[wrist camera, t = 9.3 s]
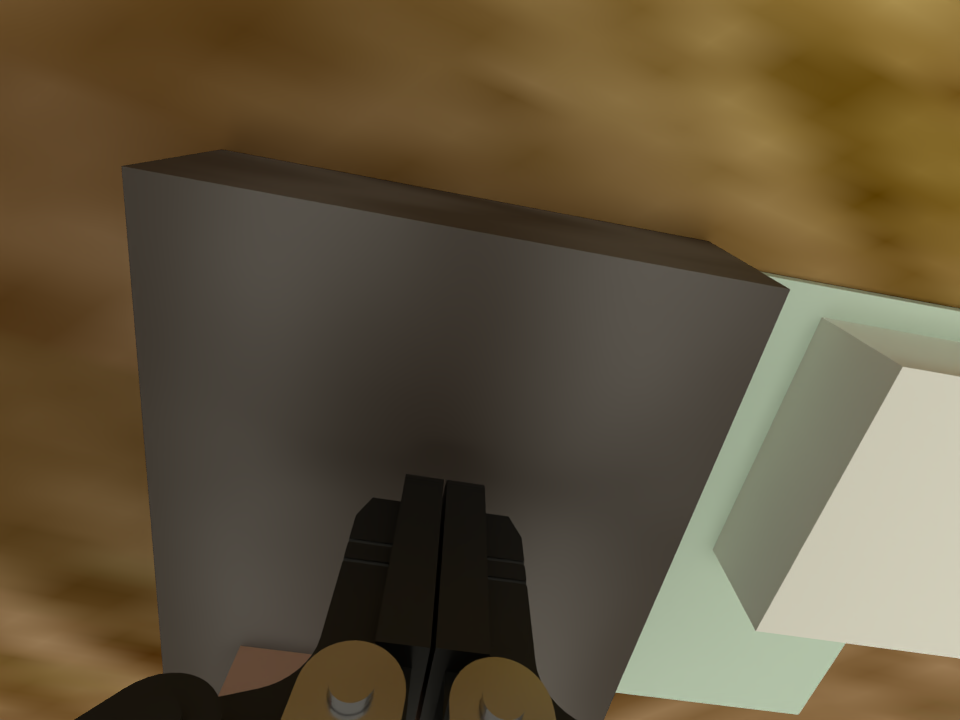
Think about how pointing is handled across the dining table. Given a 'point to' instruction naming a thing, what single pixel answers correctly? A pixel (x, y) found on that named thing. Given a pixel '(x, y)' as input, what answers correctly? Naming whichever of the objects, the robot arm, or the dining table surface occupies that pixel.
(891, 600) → the cream tile
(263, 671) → the salmon pink block
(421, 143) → the dining table surface
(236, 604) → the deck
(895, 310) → the mat
